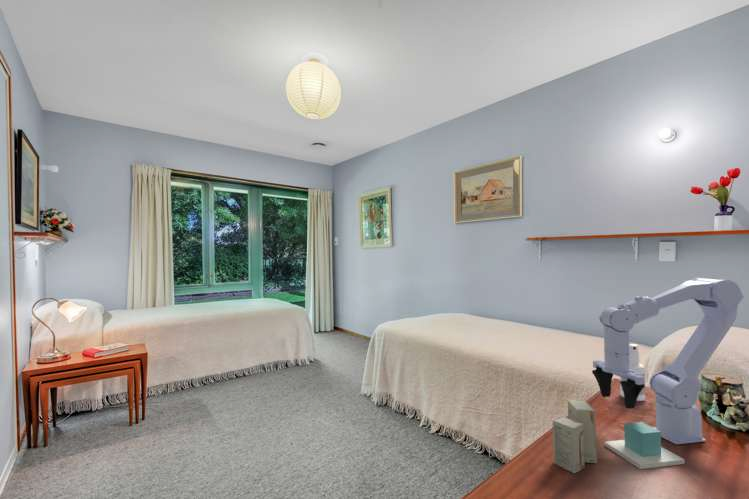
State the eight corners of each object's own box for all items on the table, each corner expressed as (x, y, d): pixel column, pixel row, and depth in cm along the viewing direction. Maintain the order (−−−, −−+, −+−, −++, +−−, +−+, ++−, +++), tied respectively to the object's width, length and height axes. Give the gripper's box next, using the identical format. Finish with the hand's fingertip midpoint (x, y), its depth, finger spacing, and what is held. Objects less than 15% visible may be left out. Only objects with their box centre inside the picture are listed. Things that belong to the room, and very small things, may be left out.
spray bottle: (626, 400, 117) (626, 346, 118) (616, 393, 124) (615, 341, 124) (649, 402, 116) (648, 347, 116) (637, 394, 123) (637, 342, 123)
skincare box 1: (585, 468, 80) (585, 424, 80) (574, 474, 78) (573, 429, 78) (563, 457, 85) (563, 415, 85) (552, 462, 82) (551, 419, 83)
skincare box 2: (597, 464, 82) (596, 411, 82) (577, 462, 83) (576, 410, 83) (586, 449, 88) (586, 400, 88) (567, 447, 89) (567, 399, 89)
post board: (644, 441, 92) (644, 426, 92) (684, 463, 82) (684, 446, 82) (604, 445, 90) (604, 429, 90) (640, 469, 80) (640, 451, 80)
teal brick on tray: (641, 443, 89) (641, 421, 89) (661, 454, 84) (660, 431, 84) (624, 445, 88) (624, 423, 88) (643, 457, 83) (642, 433, 83)
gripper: (583, 346, 103) (584, 392, 103) (627, 360, 89) (628, 414, 88) (604, 344, 104) (605, 390, 104) (651, 359, 90) (652, 412, 90)
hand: (617, 401), depth 96 cm, fingers open, 7 cm apart
